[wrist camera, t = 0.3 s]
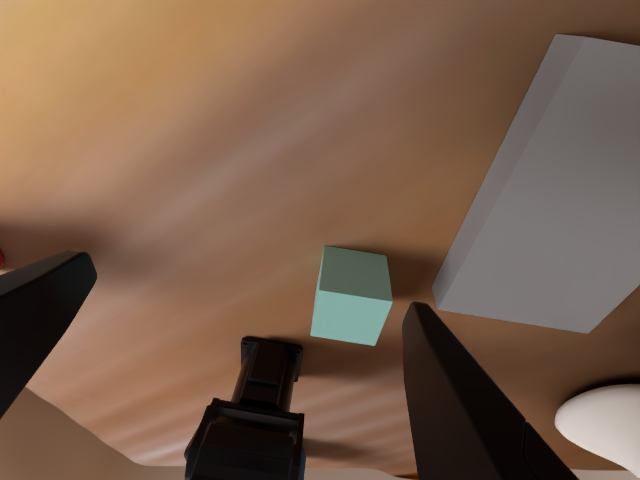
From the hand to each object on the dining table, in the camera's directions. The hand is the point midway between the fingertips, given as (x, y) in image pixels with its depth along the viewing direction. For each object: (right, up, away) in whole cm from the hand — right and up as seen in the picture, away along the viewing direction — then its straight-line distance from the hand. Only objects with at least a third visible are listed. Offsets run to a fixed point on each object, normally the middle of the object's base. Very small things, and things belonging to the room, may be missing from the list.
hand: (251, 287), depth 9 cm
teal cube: (+4, -1, +18) cm, 18 cm away
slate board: (+18, +4, +12) cm, 22 cm away
